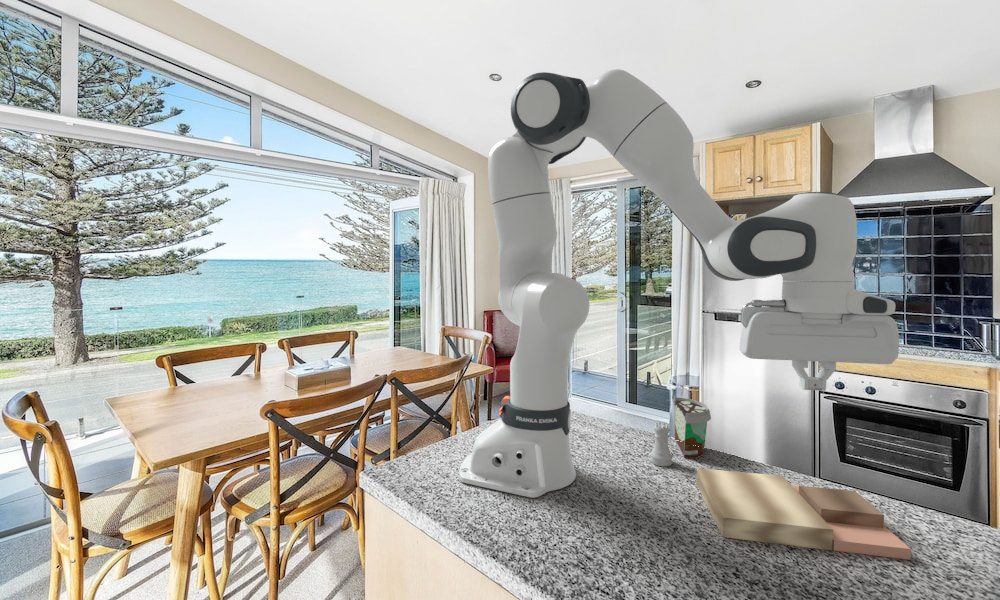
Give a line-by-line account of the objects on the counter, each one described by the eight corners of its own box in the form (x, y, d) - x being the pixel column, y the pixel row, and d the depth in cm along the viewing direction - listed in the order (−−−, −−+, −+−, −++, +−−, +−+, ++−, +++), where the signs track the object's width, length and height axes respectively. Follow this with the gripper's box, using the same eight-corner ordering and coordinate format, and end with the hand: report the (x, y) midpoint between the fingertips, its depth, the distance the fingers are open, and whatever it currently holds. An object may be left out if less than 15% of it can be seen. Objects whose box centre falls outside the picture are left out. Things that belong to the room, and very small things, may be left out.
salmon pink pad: (833, 550, 58) (834, 540, 58) (783, 492, 74) (783, 484, 74) (910, 559, 56) (910, 549, 56) (841, 498, 72) (842, 489, 72)
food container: (717, 463, 85) (719, 415, 85) (685, 461, 87) (686, 413, 86) (701, 440, 97) (702, 398, 97) (673, 438, 99) (674, 396, 98)
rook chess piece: (675, 468, 83) (676, 429, 83) (651, 466, 84) (652, 427, 84) (669, 458, 88) (670, 421, 87) (647, 457, 88) (648, 420, 88)
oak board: (722, 537, 61) (723, 517, 61) (696, 483, 77) (697, 468, 77) (832, 550, 58) (832, 529, 58) (781, 492, 74) (782, 475, 74)
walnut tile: (820, 521, 63) (821, 508, 63) (798, 497, 69) (798, 485, 69) (883, 528, 61) (884, 515, 61) (854, 502, 68) (854, 490, 68)
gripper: (748, 300, 63) (745, 390, 64) (909, 302, 59) (903, 399, 60) (735, 298, 69) (732, 380, 70) (879, 300, 65) (874, 388, 66)
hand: (812, 389), depth 65 cm, fingers closed
